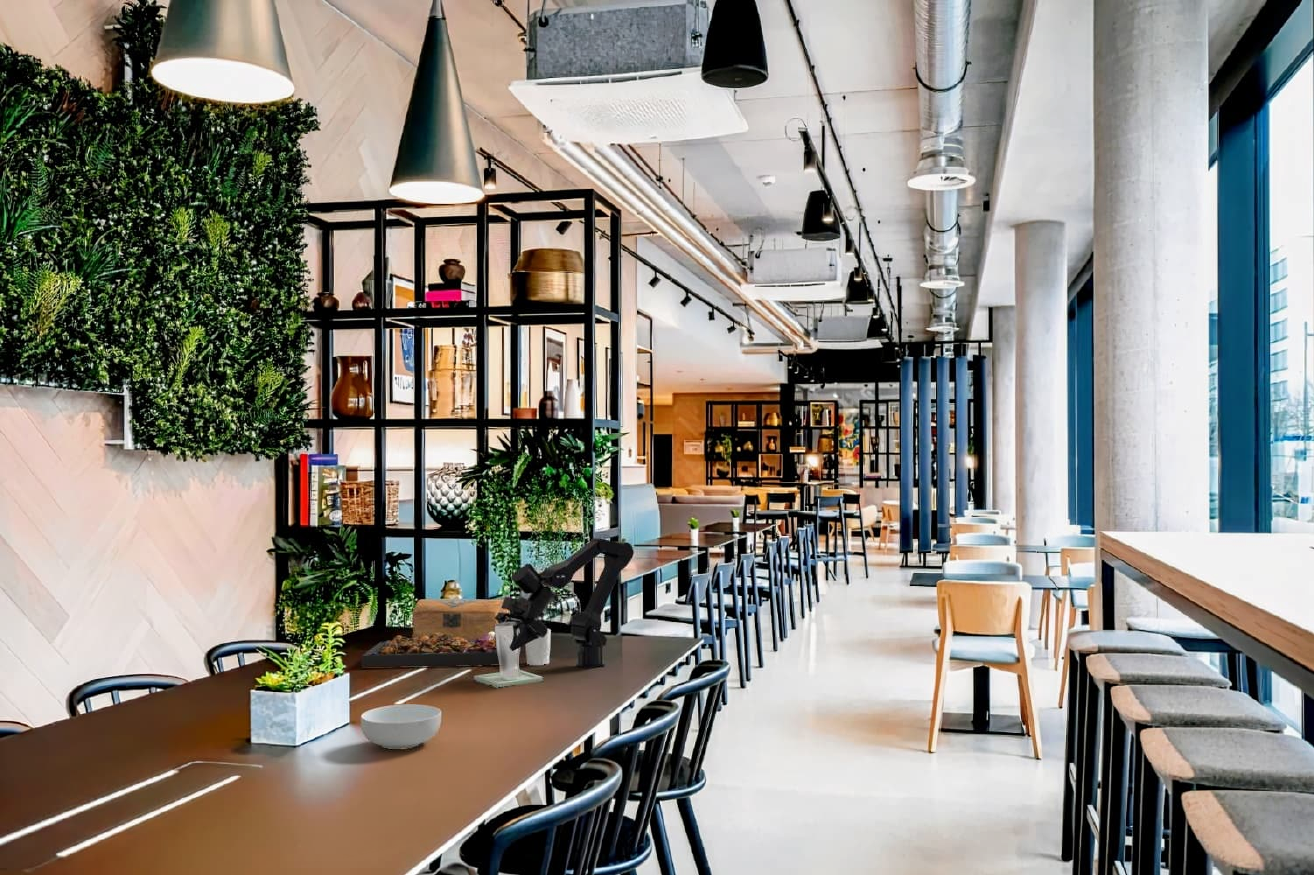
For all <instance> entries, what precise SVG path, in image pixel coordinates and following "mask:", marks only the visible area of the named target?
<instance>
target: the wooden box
mask: <svg viewBox="0 0 1314 875" xmlns="http://www.w3.org/2000/svg"><path fill="white" fill-rule="evenodd" d="M503 601H504V600H503V599H482V598H481V599H476V598H475V599H473V598H465V599H464V598H431V599H430V598H429V599H427V598H426V599H423V598H422V599H419V600H418V601H417V602H416V604H415V605H414V608H413V611H412V635H413V636H415V637H422V636H424V635H426V636H431V634H432V633H435V632H439V633H441V634H444V633H447V634H449V633H450V634H451V635H452V638H454V637H460V638H463V639H467V640H476V639H483V638H482V637H485V636H486V635H487V634H488V633H489V632H495V624H498V621H497V620H496V619H495V617H496V615H497V614H498V613H499V612H506V613H509V614H510V611H509V610H507V609H503V608H501V607H502V604H503Z"/></svg>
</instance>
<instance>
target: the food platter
mask: <svg viewBox="0 0 1314 875" xmlns="http://www.w3.org/2000/svg"><path fill="white" fill-rule="evenodd" d="M482 638H483V639H476V640H467V639H463V638H460V637H454V638H452V635H451V634H450V633H449V634H447V633H444V634H441V633H439V632H435V633H432V634H431V636H426V635H424V636H422V637H415V636H413V634H412V635H411V637H410V638H408V637H405V636H402V635H396V636H395V637H394V638H393V639H392V640H390V639H387V640H386V641H380V642H377V644H376V645H374V646H373V647H372V648H371V649H369V650H368V651H366V652H365V653H364V654H363V655H361V659H360V660H361V661H360V665H361V666H360V667H401V666H456V665H457V666H458V665H491V664H499V659H498V655H497V651H496V647H495V632H489V633H488V634H487V635H486V636H485V637H482ZM484 651H485V652H484ZM521 651H522V646H521V647H520V652H519V654H520V653H521Z"/></svg>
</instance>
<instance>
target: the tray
mask: <svg viewBox="0 0 1314 875" xmlns="http://www.w3.org/2000/svg"><path fill="white" fill-rule="evenodd" d="M519 670H520V674H521V677H520V678H518V679H514V680H500V679H499V672H492V673H487V674H485V673H484V674H478V675H473V681H475V680H476V681H475V682H478V683H481V684H483V683H484V684H483V685H487V686H489V685H492V686H494V687H493V688H495V687H497V688H496V689H499V688H498V687H503V688H505V687H504V686H509V687H511V686H510V685H516V686H520V685H521V686H522V685H528V684H534V683H540V682H541V681H542V682H544V677H543V676H541V675H537V674H534V673H531V672H528V671H524V670H522V669H519ZM542 682H541V683H542ZM492 686H491V687H492Z"/></svg>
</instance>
